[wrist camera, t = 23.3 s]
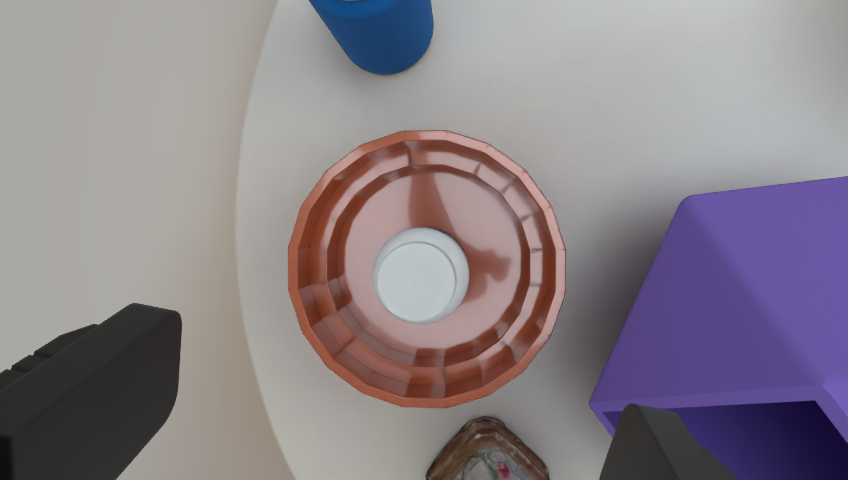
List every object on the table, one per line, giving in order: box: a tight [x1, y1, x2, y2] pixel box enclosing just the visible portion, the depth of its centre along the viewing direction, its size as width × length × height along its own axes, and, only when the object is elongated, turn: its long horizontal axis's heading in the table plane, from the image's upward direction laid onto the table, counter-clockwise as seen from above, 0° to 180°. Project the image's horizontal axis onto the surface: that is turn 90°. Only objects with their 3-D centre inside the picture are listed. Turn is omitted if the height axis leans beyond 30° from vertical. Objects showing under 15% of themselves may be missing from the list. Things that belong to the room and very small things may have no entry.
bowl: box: [288, 130, 566, 408], centre depth 34 cm, size 16×16×6 cm
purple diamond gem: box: [589, 176, 848, 480], centre depth 26 cm, size 22×20×20 cm
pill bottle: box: [372, 227, 469, 324], centre depth 31 cm, size 5×5×10 cm
